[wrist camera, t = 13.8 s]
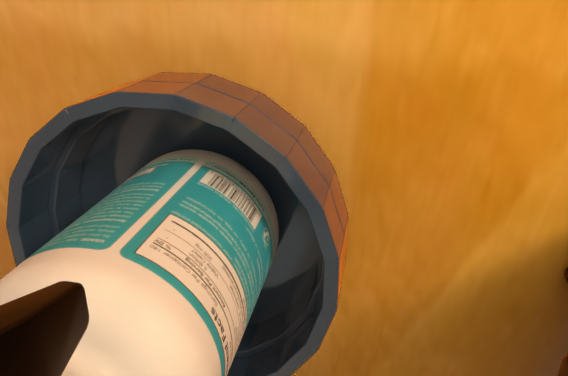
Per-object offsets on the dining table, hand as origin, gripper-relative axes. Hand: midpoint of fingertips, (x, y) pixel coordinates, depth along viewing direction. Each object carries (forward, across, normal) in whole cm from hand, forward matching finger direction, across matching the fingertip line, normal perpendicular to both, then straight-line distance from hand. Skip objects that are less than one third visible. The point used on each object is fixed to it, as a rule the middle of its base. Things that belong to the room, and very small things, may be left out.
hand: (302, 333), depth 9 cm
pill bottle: (+13, +6, +5) cm, 15 cm away
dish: (+13, +7, +5) cm, 16 cm away
